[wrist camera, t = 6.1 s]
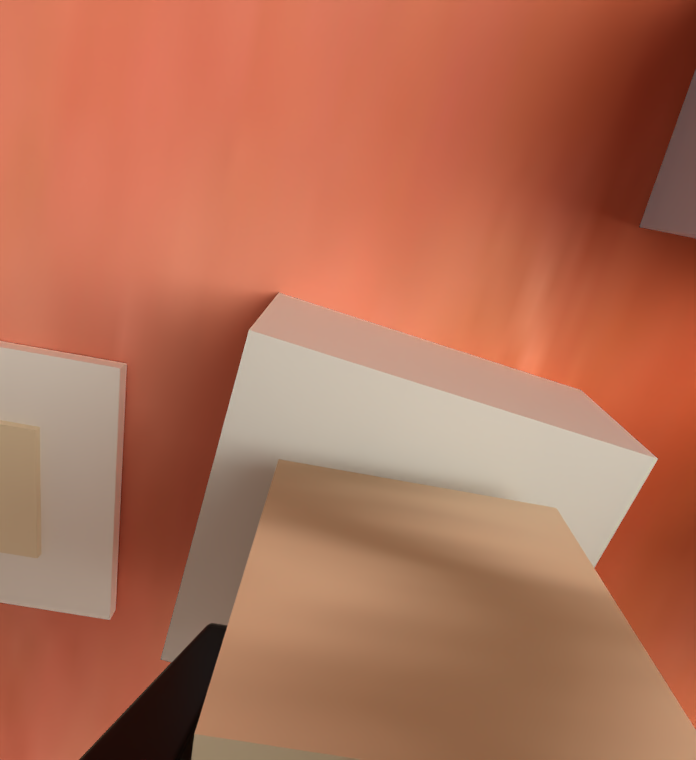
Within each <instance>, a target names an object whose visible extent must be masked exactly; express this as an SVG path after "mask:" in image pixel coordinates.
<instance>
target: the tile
mask: <svg viewBox="0 0 696 760" xmlns="http://www.w3.org/2000/svg"><path fill="white" fill-rule="evenodd" d="M126 375H127V363H122V362H116V361H111V360H105V359H100V358H94V357H88V356H83V355H77V354H71V353H66V352H60V351H55V350H49V349H43V348H38V347H32V346H27V345H21V344H15V343H10V342H4V341H0V603H6V604H12V605H19V606H25V607H31V608H38V609H44V610H50V611H56V612H63V613H69V614H75V615H82V616H88V617H94V618H101V619H107V620H110V619H111V617H112V616H113V614H114V612H115V610H116V593H117V571H118V550H119V528H120V506H121V484H122V462H123V441H124V419H125V397H126Z"/></svg>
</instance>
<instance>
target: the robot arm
mask: <svg viewBox="0 0 696 760" xmlns="http://www.w3.org/2000/svg"><path fill="white" fill-rule="evenodd" d="M227 626H228V625H223V624H216V623H210V624H208V625H207V626H206V627H205V628H204V629H203V630H202V631H201V632H200V633H199V634H198V635H197V636H196V637H195V638H194V639H193V640H192V641H191V642H190V643H189V645H188V646H187V647H186V648H185V649H184V650H183V651H182V652H181V653H180V654H179V655H178V656H177V657H176V658H175V659H174V660H173V661H172V662H171V663H170V665H169V666H168V667H167V668H166V669H165V670H164V671H163V672H162V673H161V674H160V675H159V676H158V677H157V678H156V679H155V680H154V681H153V682H152V683H151V685H150V686H149V687H148V688H147V689H146V690H145V691H144V692H143V693H142V694H141V695H140V696H139V697H138V698H137V699H136V700H135V701H134V702H133V703H132V705H131V706H130V707H129V708H128V709H127V710H126V711H125V712H124V713H123V714H122V715H121V716H120V717H119V718H118V719H117V720H116V721H115V722H114V724H113V725H112V726H111V727H110V728H109V729H108V730H107V731H106V732H105V733H104V734H103V735H102V736H101V737H100V738H99V739H98V740H97V741H96V742H95V744H94V745H93V746H92V747H91V748H90V749H89V750H88V751H87V752H86V753H85V754H84V755H83V756H82V757H81V758H80V759H79V760H191V757H192V749H193V741H194V733H195V730H196V727H197V724H198V720H199V717H200V714H201V711H202V707H203V704H204V701H205V698H206V694H207V691H208V688H209V685H210V681H211V678H212V675H213V671H214V668H215V665H216V662H217V658H218V655H219V652H220V649H221V645H222V642H223V639H224V636H225V632H226V629H227Z"/></svg>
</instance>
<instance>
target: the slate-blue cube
mask: <svg viewBox="0 0 696 760" xmlns="http://www.w3.org/2000/svg"><path fill="white" fill-rule="evenodd" d="M639 227H641V228H646V229H651V230H656V231H661V232H666V233H671V234H676V235H681V236H686V237H691V238H696V70H695V72H694V75H693V78H692V81H691V84H690V86H689V89H688V92H687V95H686V98H685V100H684V103H683V106H682V109H681V112H680V114H679V117H678V120H677V123H676V126H675V128H674V131H673V134H672V137H671V140H670V142H669V145H668V148H667V151H666V154H665V156H664V159H663V162H662V165H661V168H660V170H659V173H658V176H657V179H656V181H655V184H654V187H653V190H652V193H651V195H650V198H649V201H648V204H647V207H646V209H645V212H644V215H643V218H642V221H641V223H640V226H639Z"/></svg>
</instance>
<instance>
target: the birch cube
mask: <svg viewBox="0 0 696 760" xmlns="http://www.w3.org/2000/svg"><path fill="white" fill-rule="evenodd" d="M191 760H696V730H695V728H694V726H693V725H692V723H691V722H690V720H689V718H688V717H687V715H686V714H685V712H684V710H683V709H682V707H681V706H680V704H679V702H678V701H677V699H676V698H675V696H674V694H673V693H672V691H671V690H670V688H669V687H668V685H667V683H666V682H665V680H664V679H663V677H662V675H661V674H660V672H659V671H658V669H657V667H656V666H655V664H654V663H653V661H652V659H651V658H650V656H649V655H648V653H647V651H646V650H645V648H644V647H643V645H642V643H641V642H640V640H639V639H638V637H637V636H636V634H635V632H634V631H633V629H632V628H631V626H630V624H629V623H628V621H627V620H626V618H625V616H624V615H623V613H622V612H621V610H620V608H619V607H618V605H617V604H616V602H615V600H614V599H613V597H612V596H611V594H610V592H609V591H608V589H607V588H606V586H605V585H604V583H603V581H602V580H601V578H600V577H599V575H598V573H597V572H596V570H595V569H594V567H593V565H592V564H591V562H590V561H589V559H588V557H587V556H586V554H585V553H584V551H583V549H582V548H581V546H580V545H579V543H578V542H577V540H576V538H575V537H574V535H573V534H572V532H571V530H570V529H569V527H568V526H567V524H566V522H565V521H564V519H563V518H562V516H561V514H560V513H559V511H558V510H557V508H554V507H548V506H543V505H537V504H531V503H526V502H520V501H514V500H509V499H503V498H497V497H491V496H486V495H480V494H474V493H469V492H463V491H457V490H452V489H446V488H440V487H434V486H429V485H423V484H417V483H412V482H406V481H400V480H395V479H389V478H383V477H378V476H372V475H366V474H360V473H355V472H349V471H343V470H338V469H332V468H326V467H321V466H315V465H309V464H304V463H298V462H292V461H286V460H281V459H278V463H277V466H276V469H275V472H274V476H273V479H272V482H271V485H270V489H269V492H268V495H267V498H266V502H265V505H264V508H263V512H262V515H261V518H260V521H259V525H258V528H257V531H256V534H255V538H254V541H253V544H252V547H251V551H250V554H249V557H248V561H247V564H246V567H245V570H244V574H243V577H242V580H241V583H240V587H239V590H238V593H237V596H236V600H235V603H234V606H233V609H232V613H231V616H230V619H229V623H228V626H227V629H226V632H225V636H224V639H223V642H222V645H221V649H220V652H219V655H218V658H217V662H216V665H215V668H214V671H213V675H212V678H211V681H210V685H209V688H208V691H207V694H206V698H205V701H204V704H203V707H202V711H201V714H200V717H199V720H198V724H197V727H196V730H195V733H194V741H193V749H192V757H191Z"/></svg>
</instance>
